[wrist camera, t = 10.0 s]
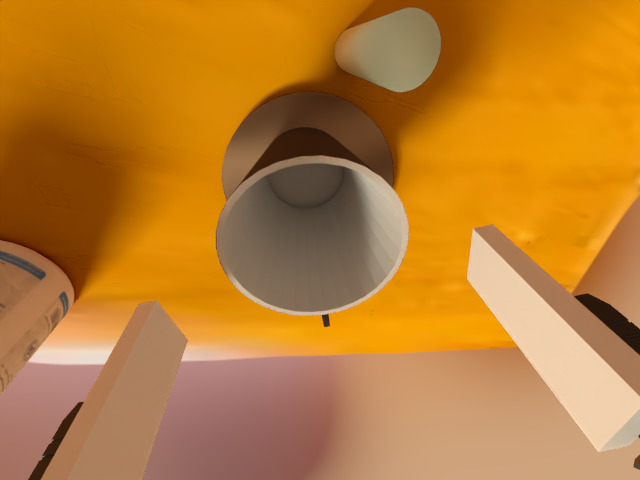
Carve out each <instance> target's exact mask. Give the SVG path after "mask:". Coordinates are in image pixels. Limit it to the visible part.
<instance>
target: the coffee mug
mask: <svg viewBox="0 0 640 480" xmlns="http://www.w3.org/2000/svg"><path fill="white" fill-rule="evenodd" d="M408 238H409V230H408V219H407V216H406V212H405V209H404V206H403V204H402V202H401V200H400V199H399V197H398V195H397V194H396V192H395V190H394V189H393V188H392V187H391V186H390V185H389V184H388V183H387V182H386V181H385V180H384V179H383V178H382V177H381V176H380V175H378V174H377V173H376V172H375V171H374V170H372V169H371V168H370V167H369V166H368V165H366V164H365V163H364V162H363V161H362V160H360V159H359V158H358V157H357V156H355V155H354V154H353V153H352V152H351V151H349V150H348V149H347V148H346V147H345V146H343V145H342V144H341V143H340V142H339V141H337V140H336V139H335V138H334V137H332V136H331V135H329V134H328V133H326V132H324V131H322V130H319V129H316V128H310V127H299V128H295V129H291V130H288V131H286V132H284V133H282V134H281V135H279V136H278V137H277V138H276V139H274V141H273V142H272V143H271V144H270V145H269V147H268V148H267V149H266V150H265V152H264V153H263V154H262V156H261V157H260V158H259V160H258V161H257V162H256V163H255V165H254V166H253V167H252V169H251V170H250V171H249V173H248V174H247V175H246V176H245V178H244V179H243V180H242V182H241V183H240V184H239V185H238V187H237V188H236V189H235V191H234V192H233V193H232V195H231V196H230V197H229V198H228V200H227V202H226V204H225V206H224V208H223V210H222V212H221V214H220V217H219V221H218V225H217V229H216V250H217V253H218V257H219V261H220V264H221V266H222V268H223V270H224V272H225V274H226V275H227V277H228V278H229V280H230V281H231V282H232V283H233V284H234V286H235V287H236V288H237V289H238V290H239V291H240V292H242V293H243V294H244V295H245V296H247V297H248V298H249V299H251V300H252V301H254V302H256V303H258V304H260V305H261V306H263V307H266V308H269V309H271V310H274V311H277V312H281V313H286V314H291V315H303V316H314V315H322V319H323V324H324V327H328V326H330V324H329V316H328V314H330V313H335V312H340V311H343V310H345V309H348V308H351V307H354V306H356V305H358V304H360V303H362V302H363V301H365V300H367V299H369V298H370V297H372V296H373V295H374V294H376V293H377V292H378V291H380V290H381V289H382V288H383V287H384V286H385V285H386V284H387V283H388V282H389V281H390V280H391V279H392V277H393V276H394V274H395V273H396V271H397V270H398V268H399V267H400V265H401V263H402V260H403V258H404V255H405V253H406V249H407V244H408Z"/></svg>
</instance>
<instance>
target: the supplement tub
mask: <svg viewBox="0 0 640 480" xmlns="http://www.w3.org/2000/svg"><path fill="white" fill-rule="evenodd" d="M73 302H74V289H73V286H72V284H71V282H70V280H69V278H68V277H67V275H66V274H65V273H64V272H63V271H62V270H61V269H60V268H59V267H58V266H57V265H56V264H54V263H53V262H51V261H50V260H49V259H47V258H45V257H43V256H42V255H40V254H38V253H37V252H35V251H33V250H31V249H28V248H26V247H23V246H21V245H18V244H14V243H11V242H7V241H1V240H0V395H1V394H2V392H3V391H4V390H5V389H6V387H7V386H8V385H9V384H10V383H11V381H12V380H13V379H14V378H15V376H16V375H17V374H18V373H19V371H20V370H21V369H22V368H23V366H24V365H25V364H26V363H27V362H28V360H29V359H30V358H31V357H32V355H33V354H34V353H35V352H36V351H37V349H38V348H39V347H40V346H41V344H42V343H43V342H44V341H45V339H46V338H47V337H48V336H49V334H50V333H51V332H52V331H53V330H54V328H55V327H56V326H57V325H58V323H59V322H60V321H61V320H62V318H63V317H64V316H65V315H66V314H67V312H68V311H69V310H70V309H71V307H72V305H73Z"/></svg>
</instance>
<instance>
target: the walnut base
mask: <svg viewBox="0 0 640 480" xmlns="http://www.w3.org/2000/svg"><path fill="white" fill-rule="evenodd" d="M299 127H310V128H316V129H319V130H322V131H324V132H326V133H328V134H329V135H331V136H332V137H334V138H335V139H336V140H337V141H339V142H340V143H341V144H342V145H343V146H345V147H346V148H347V149H348V150H349V151H351V152H352V153H353V154H354V155H355V156H357V157H358V158H359V159H360V160H362V161H363V162H364V163H365V164H366V165H368V166H369V167H370V168H371V169H372V170H374V171H375V172H376V173H377V174H378V175H380V176H381V177H382V178H383V179H384V180H385V181H386V182H387V183H388V184H389V185H390V186H391V187H393V177H394V171H393V161H392V155H391V152H390V149H389V146H388V143H387V141H386V139H385V137H384V135H383V133H382V132H381V130H380V129H379V128H378V126H377V125H376V124H375V122H374V121H373V120H372V119H371V118H370V117H369V116H368V115H367V114H366V113H364V112H363V111H362V110H360V109H359V108H358V107H357V106H355V105H353V104H352V103H350V102H348V101H346V100H345V99H342V98H339V97H337V96H334V95H330V94H326V93H321V92H295V93H291V94H286V95H282V96H280V97H277V98H275V99H272V100H270V101H268V102H266V103H265V104H263V105H261V106H260V107H258V108H257V109H256V110H254V111H253V112H252V113H251V114H250V115H249V116H248V117H247V118H246V119H245V120H244V121H243V122H242V123H241V125H240V126H239V128H238V129H237V130H236V132H235V133H234V135H233V137H232V139H231V141H230V143H229V145H228V147H227V150H226V153H225V156H224V162H223V168H222V181H223V190H224V194H225V197H226V201H227V200H228V198H229V197H230V196H231V195H232V193H233V192H234V191H235V189H236V188H237V187H238V185H239V184H240V183H241V182H242V180H243V179H244V178H245V176H246V175H247V174H248V173H249V171H250V170H251V169H252V167H253V166H254V165H255V163H256V162H257V161H258V160H259V158H260V157H261V156H262V154H263V153H264V152H265V150H266V149H267V148H268V147H269V145H270V144H271V143H272V142H273V141H274V139H276V138H277V137H278V136H279V135H281V134H282V133H284V132H286V131H288V130H291V129H295V128H299Z"/></svg>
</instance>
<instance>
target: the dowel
mask: <svg viewBox="0 0 640 480" xmlns="http://www.w3.org/2000/svg"><path fill="white" fill-rule="evenodd" d="M440 50H441V36H440V31H439V28H438V25H437V23H436V21H435V20H434V18H433V17H432V16H431V15H430V14H429V13H427V12H426V11H424V10H422V9H419V8H413V7H411V8H404V9H401V10H398V11H396V12H393V13H390V14H387V15H385V16H382V17H379V18H376V19H374V20H371V21H368V22H365V23H363V24H360V25H357V26H355V27H352V28H349V29H347V30H345V31H344V32H342V33H341V35H340V36H339V37H338V39H337V41H336V44H335V49H334V55H335V60H336V62H337V64H338V66H339V67H340V68H341V69H342V70H343V71H345V72H347V73H350V74H352V75H355V76H357V77H359V78H362V79H364V80H367V81H369V82H372V83H374V84H376V85H379V86H381V87H384V88H386V89H389V90H391V91H394V92H406V91H410V90H413V89H415V88H416V87H418V86H420V85H421V84H422V83H423V82H425V81H426V79H427V78H428V77H429V76H430V75H431V73H432V72H433V70H434V68H435V66H436V64H437V62H438V59H439V55H440Z"/></svg>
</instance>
